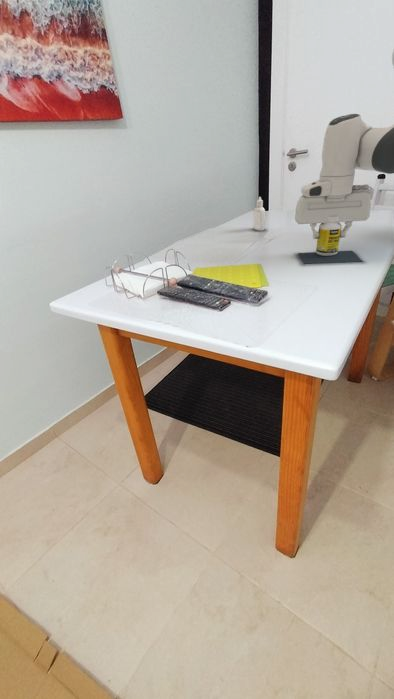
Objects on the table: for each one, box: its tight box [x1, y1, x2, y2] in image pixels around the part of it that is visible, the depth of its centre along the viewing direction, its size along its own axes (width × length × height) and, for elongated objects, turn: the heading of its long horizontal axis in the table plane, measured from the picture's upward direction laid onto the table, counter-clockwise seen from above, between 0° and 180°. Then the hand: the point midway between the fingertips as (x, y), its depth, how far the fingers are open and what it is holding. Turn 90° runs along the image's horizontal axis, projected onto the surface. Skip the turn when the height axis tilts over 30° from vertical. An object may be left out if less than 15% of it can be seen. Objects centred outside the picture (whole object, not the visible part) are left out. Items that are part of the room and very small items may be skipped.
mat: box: [298, 250, 363, 265], centre depth 100 cm, size 16×10×1 cm, turn 85°
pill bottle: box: [315, 216, 342, 256], centre depth 99 cm, size 6×6×11 cm
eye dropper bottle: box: [253, 196, 266, 232], centre depth 131 cm, size 4×6×12 cm
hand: (328, 237), depth 100 cm, fingers closed on pill bottle, 6 cm apart
